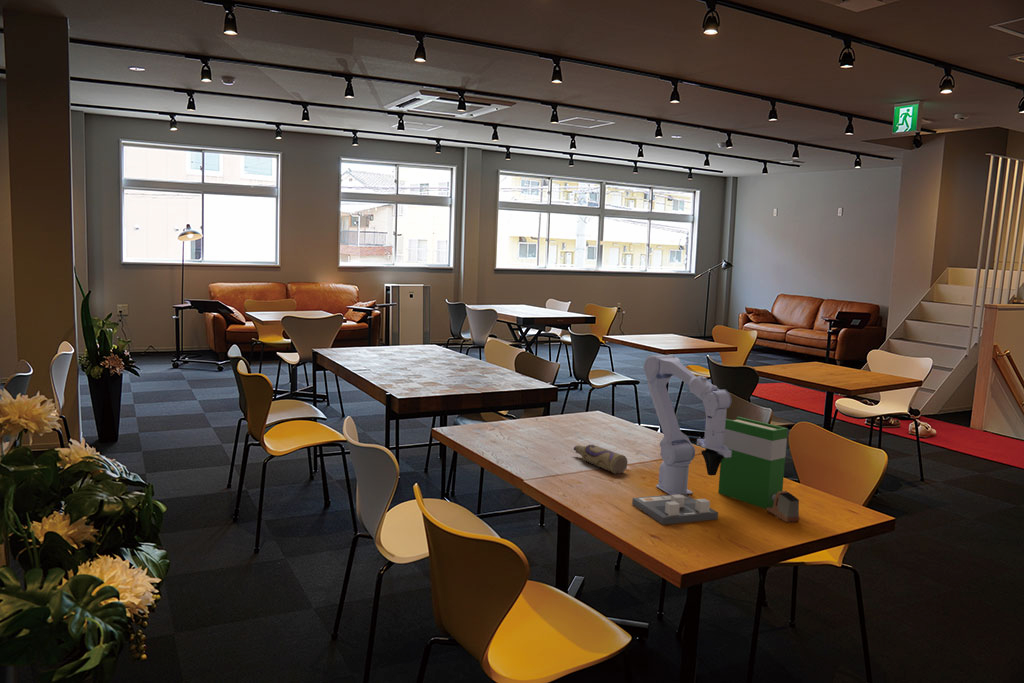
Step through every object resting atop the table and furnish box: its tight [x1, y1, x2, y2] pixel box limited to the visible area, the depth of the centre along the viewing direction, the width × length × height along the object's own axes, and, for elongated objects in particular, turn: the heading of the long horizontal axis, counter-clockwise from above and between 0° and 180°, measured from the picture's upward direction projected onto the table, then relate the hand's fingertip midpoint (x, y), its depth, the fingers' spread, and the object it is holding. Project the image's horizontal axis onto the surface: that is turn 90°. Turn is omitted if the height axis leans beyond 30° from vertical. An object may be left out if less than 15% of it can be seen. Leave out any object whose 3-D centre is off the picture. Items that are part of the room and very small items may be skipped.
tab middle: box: [671, 494, 685, 508], centre depth 210 cm, size 2×3×3 cm
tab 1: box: [665, 501, 680, 515], centre depth 203 cm, size 2×3×3 cm
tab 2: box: [695, 498, 711, 512], centre depth 207 cm, size 2×3×3 cm
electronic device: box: [765, 490, 800, 523], centre depth 211 cm, size 4×10×8 cm, turn 17°
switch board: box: [632, 494, 719, 526], centre depth 211 cm, size 17×18×2 cm
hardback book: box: [717, 416, 789, 510], centre depth 225 cm, size 18×7×24 cm, turn 37°
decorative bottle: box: [573, 444, 628, 475], centre depth 257 cm, size 26×8×7 cm, turn 31°
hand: (711, 474), depth 218 cm, fingers closed
